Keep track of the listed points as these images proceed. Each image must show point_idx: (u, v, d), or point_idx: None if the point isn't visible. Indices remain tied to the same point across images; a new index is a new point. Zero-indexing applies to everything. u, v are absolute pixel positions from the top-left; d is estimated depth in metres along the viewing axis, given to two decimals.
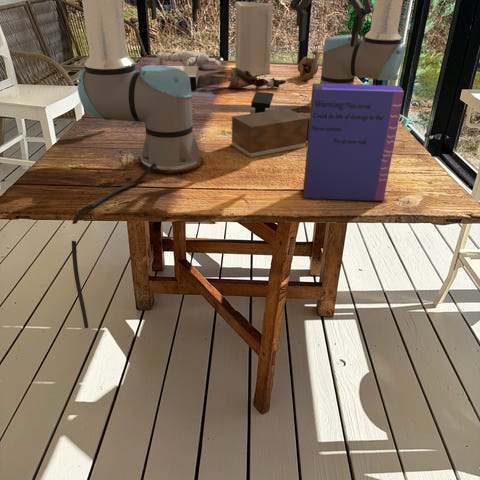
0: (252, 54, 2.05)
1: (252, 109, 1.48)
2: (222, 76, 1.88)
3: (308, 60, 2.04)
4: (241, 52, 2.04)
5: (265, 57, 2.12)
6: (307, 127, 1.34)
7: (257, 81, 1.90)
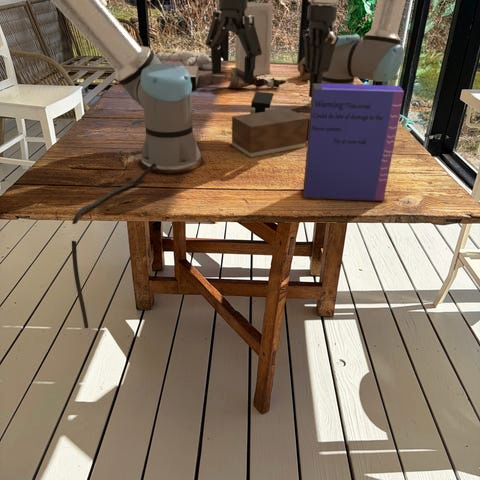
0: None
1: (252, 109, 1.48)
2: (222, 76, 1.88)
3: None
4: (241, 52, 2.04)
5: (265, 57, 2.12)
6: None
7: (257, 81, 1.90)
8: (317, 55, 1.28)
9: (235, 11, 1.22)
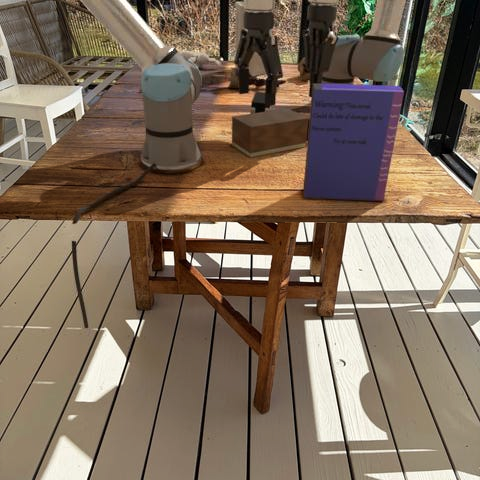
0: None
1: (252, 109, 1.48)
2: (222, 76, 1.88)
3: None
4: None
5: None
6: (307, 127, 1.34)
7: (257, 81, 1.90)
8: (317, 55, 1.28)
9: (259, 31, 1.16)
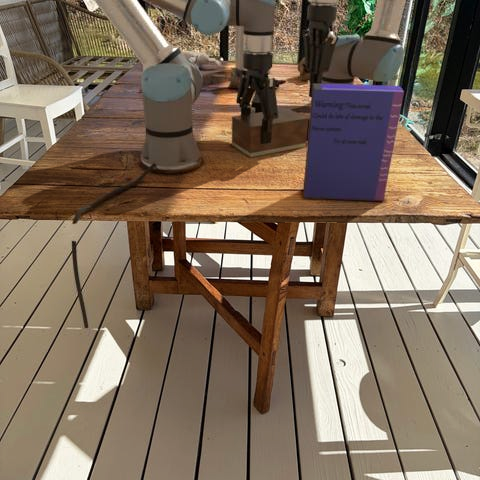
0: None
1: (252, 109, 1.48)
2: (222, 76, 1.88)
3: None
4: (241, 52, 2.04)
5: None
6: (307, 127, 1.34)
7: None
8: (317, 55, 1.28)
9: (258, 71, 1.20)
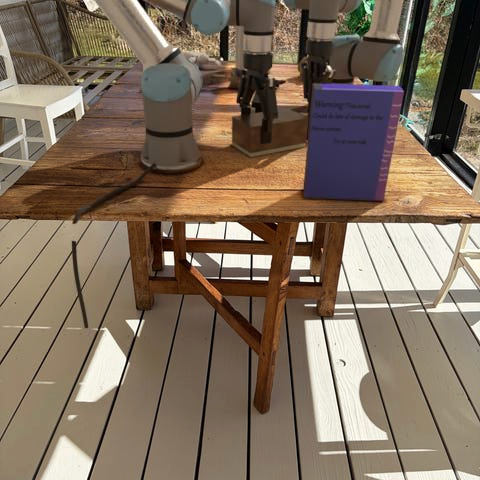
0: None
1: (252, 109, 1.48)
2: (222, 76, 1.88)
3: None
4: (241, 52, 2.04)
5: None
6: (308, 127, 1.34)
7: None
8: None
9: (258, 71, 1.20)
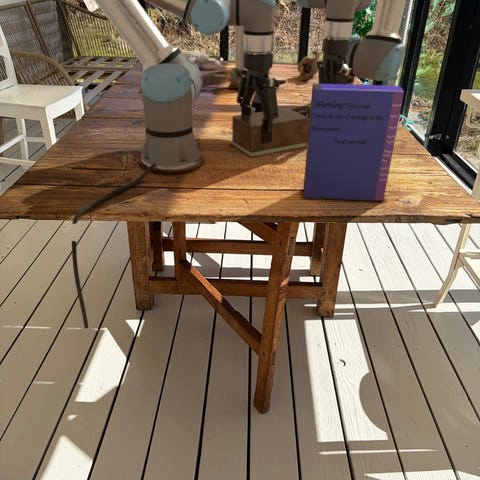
0: None
1: (252, 109, 1.48)
2: (222, 76, 1.88)
3: (308, 60, 2.04)
4: (241, 52, 2.04)
5: None
6: None
7: None
8: None
9: (258, 71, 1.20)
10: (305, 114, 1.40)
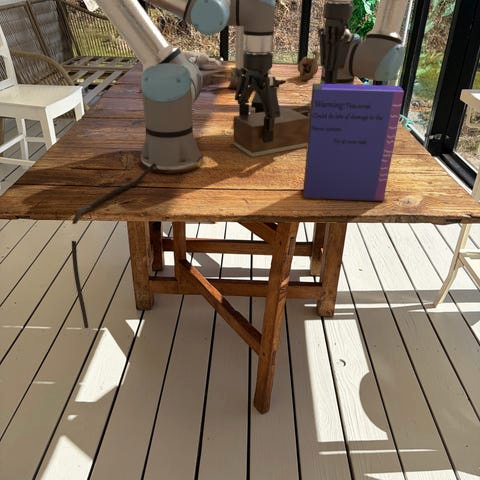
0: None
1: (252, 109, 1.48)
2: (222, 76, 1.88)
3: (308, 60, 2.04)
4: (241, 52, 2.04)
5: None
6: None
7: None
8: (333, 53, 1.30)
9: (258, 71, 1.20)
10: (307, 114, 1.41)
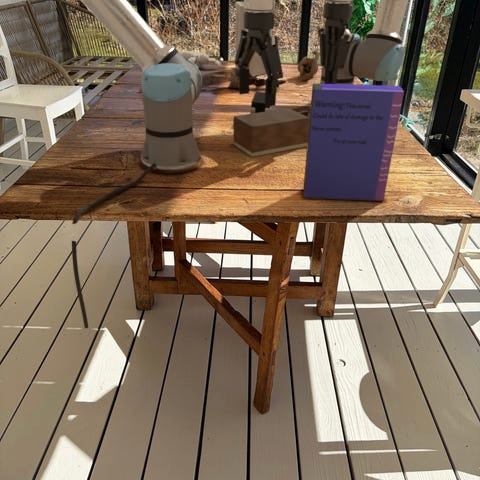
0: None
1: (252, 109, 1.48)
2: (222, 76, 1.88)
3: (308, 60, 2.04)
4: None
5: None
6: None
7: (257, 81, 1.90)
8: (333, 53, 1.30)
9: (259, 31, 1.16)
10: (307, 114, 1.41)
